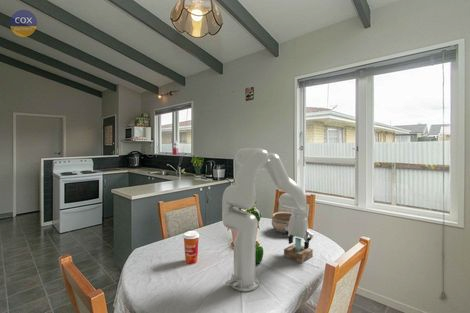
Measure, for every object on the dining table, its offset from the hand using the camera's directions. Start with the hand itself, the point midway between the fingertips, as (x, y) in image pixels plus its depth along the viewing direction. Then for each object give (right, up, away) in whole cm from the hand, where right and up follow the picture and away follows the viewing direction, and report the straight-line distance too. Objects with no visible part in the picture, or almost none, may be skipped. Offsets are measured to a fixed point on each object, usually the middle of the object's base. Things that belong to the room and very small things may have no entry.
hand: (298, 245), depth 131 cm
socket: (0, -6, 0) cm, 6 cm away
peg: (0, -6, 0) cm, 6 cm away
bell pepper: (-24, -6, -6) cm, 26 cm away
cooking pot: (0, -5, +36) cm, 37 cm away
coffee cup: (-57, -6, -6) cm, 58 cm away
